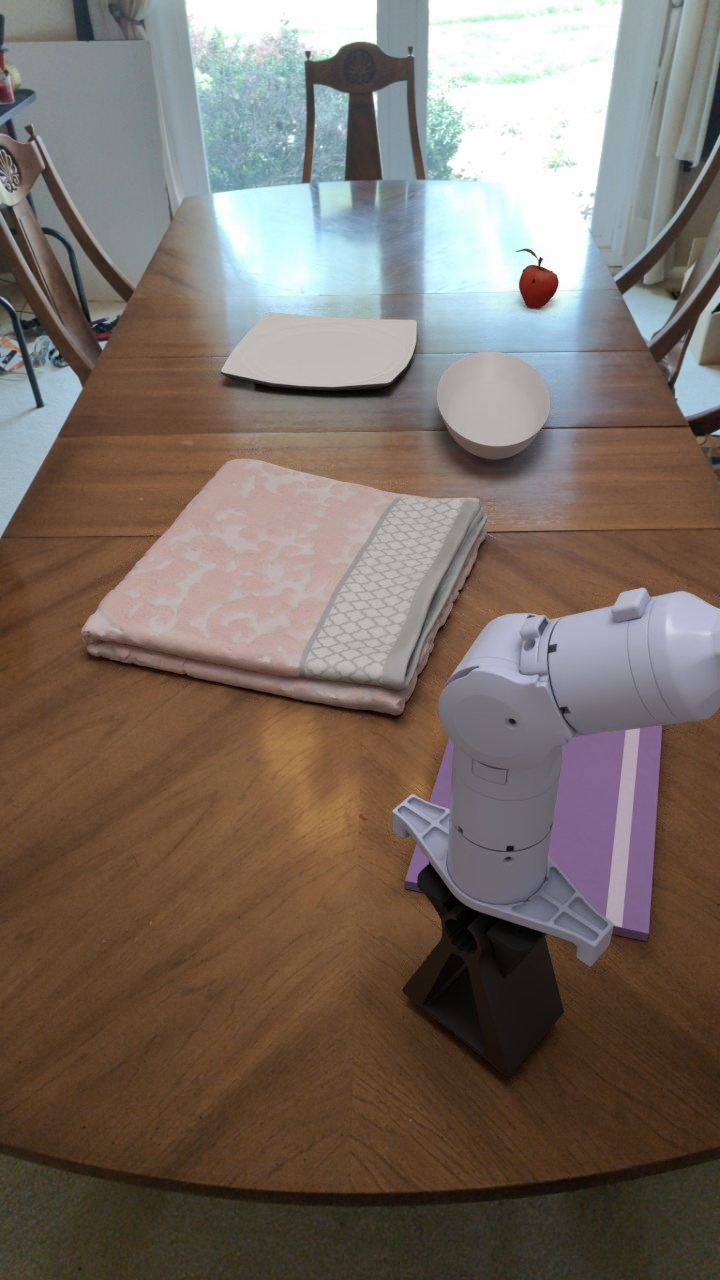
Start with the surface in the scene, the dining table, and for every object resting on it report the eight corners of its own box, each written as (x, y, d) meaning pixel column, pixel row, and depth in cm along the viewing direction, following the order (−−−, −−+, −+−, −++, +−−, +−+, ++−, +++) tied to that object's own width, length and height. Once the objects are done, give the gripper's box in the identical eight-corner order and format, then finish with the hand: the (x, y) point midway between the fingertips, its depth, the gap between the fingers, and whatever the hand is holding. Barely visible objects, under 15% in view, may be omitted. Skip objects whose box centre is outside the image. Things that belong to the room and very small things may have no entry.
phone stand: (563, 1016, 65) (585, 902, 58) (508, 1079, 62) (524, 968, 54) (458, 936, 70) (466, 823, 63) (402, 992, 67) (403, 878, 59)
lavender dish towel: (646, 942, 71) (649, 933, 70) (404, 888, 75) (404, 880, 74) (663, 694, 92) (665, 686, 91) (473, 663, 96) (474, 655, 95)
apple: (549, 298, 178) (555, 241, 171) (560, 312, 172) (566, 253, 166) (508, 301, 177) (512, 244, 171) (517, 314, 172) (522, 255, 165)
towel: (406, 730, 89) (406, 681, 85) (77, 659, 98) (65, 613, 94) (491, 531, 115) (494, 488, 112) (227, 489, 124) (222, 448, 121)
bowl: (436, 390, 147) (438, 350, 143) (537, 391, 146) (541, 351, 142) (433, 488, 124) (435, 444, 120) (554, 491, 122) (559, 447, 119)
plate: (262, 324, 170) (261, 309, 168) (425, 333, 165) (426, 317, 164) (210, 392, 148) (208, 375, 146) (397, 404, 143) (397, 387, 142)
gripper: (656, 838, 52) (620, 984, 61) (445, 716, 60) (438, 860, 69) (583, 920, 48) (555, 1064, 57) (367, 778, 56) (370, 923, 65)
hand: (487, 957), depth 62 cm, fingers closed on phone stand, 3 cm apart
